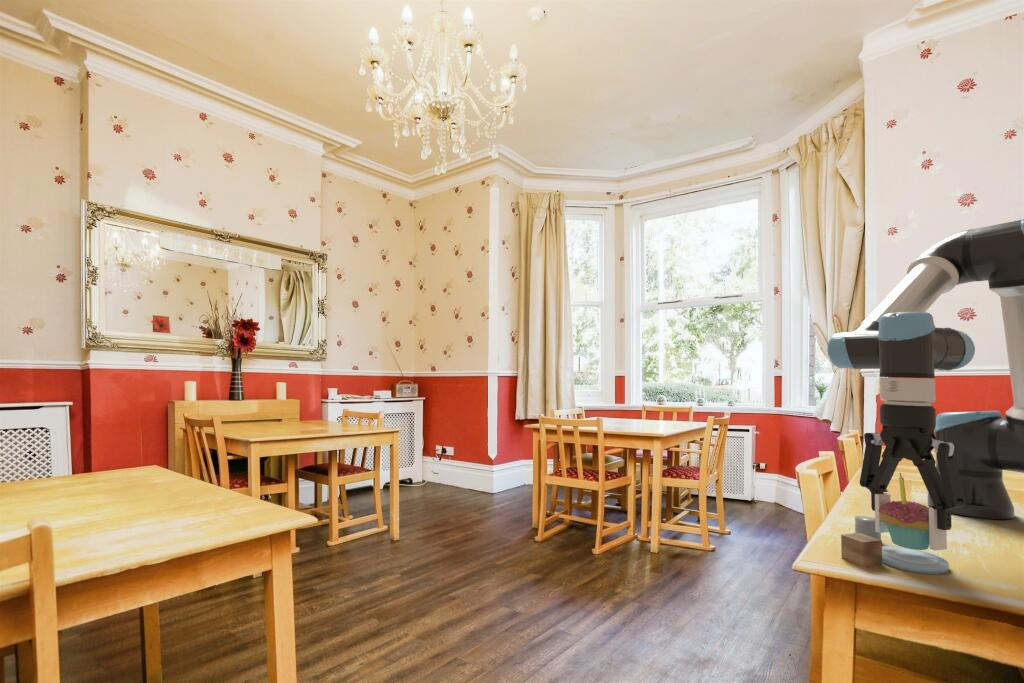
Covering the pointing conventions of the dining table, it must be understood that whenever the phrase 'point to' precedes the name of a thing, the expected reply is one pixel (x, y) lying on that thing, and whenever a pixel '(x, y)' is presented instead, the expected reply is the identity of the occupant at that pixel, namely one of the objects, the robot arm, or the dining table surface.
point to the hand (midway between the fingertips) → (909, 539)
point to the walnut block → (861, 549)
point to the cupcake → (906, 521)
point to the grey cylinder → (866, 526)
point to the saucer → (914, 560)
